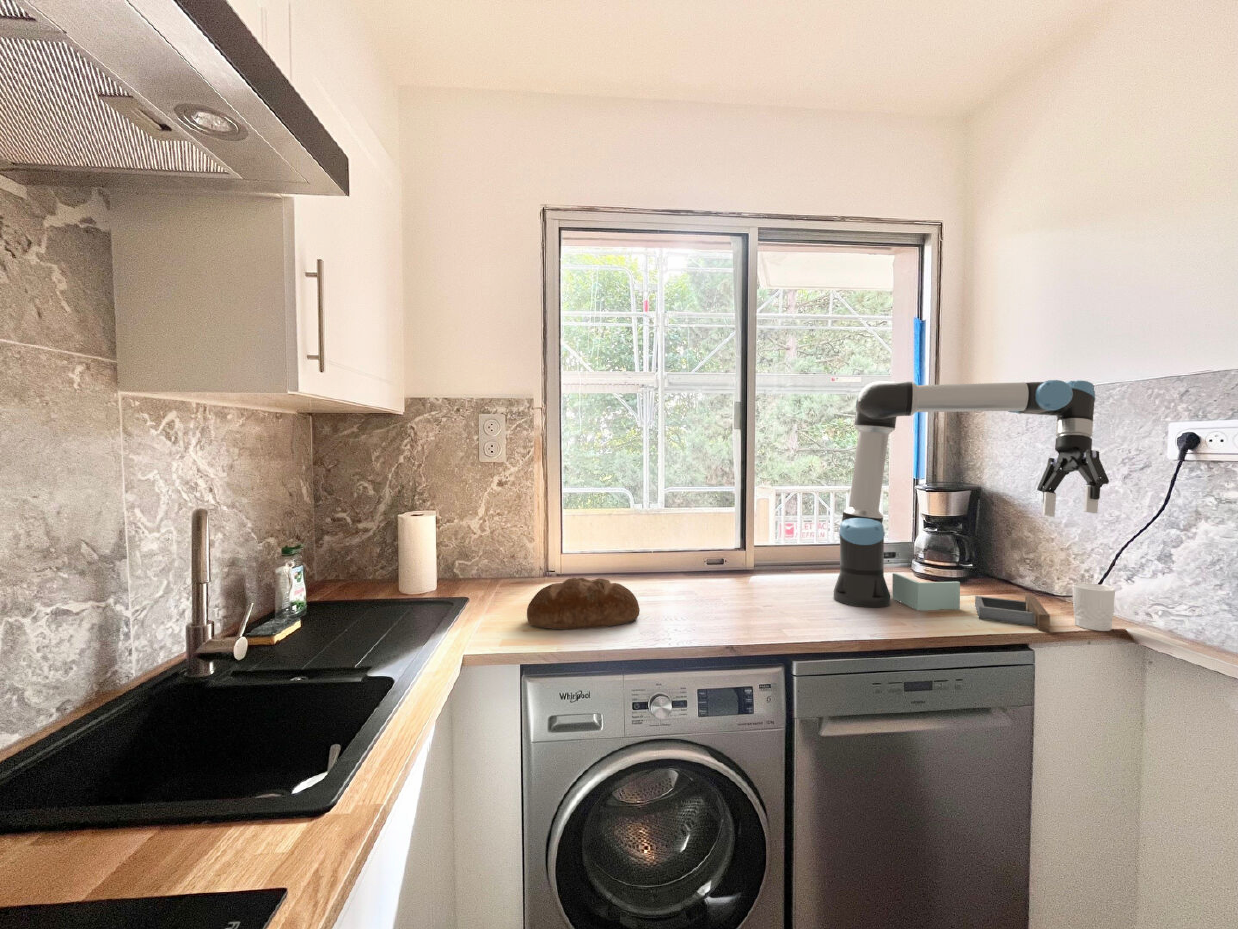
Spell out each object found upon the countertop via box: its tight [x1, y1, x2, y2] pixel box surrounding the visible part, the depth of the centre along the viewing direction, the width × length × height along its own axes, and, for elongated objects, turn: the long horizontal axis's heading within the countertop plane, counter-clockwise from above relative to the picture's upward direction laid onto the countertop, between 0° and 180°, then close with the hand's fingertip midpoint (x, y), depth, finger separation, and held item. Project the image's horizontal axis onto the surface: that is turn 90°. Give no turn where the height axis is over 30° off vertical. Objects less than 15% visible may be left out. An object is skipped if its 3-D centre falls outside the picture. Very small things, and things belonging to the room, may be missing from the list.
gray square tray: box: [974, 595, 1036, 627], centre depth 139 cm, size 12×12×3 cm
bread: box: [526, 577, 641, 630], centre depth 137 cm, size 16×29×11 cm, turn 101°
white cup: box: [1071, 582, 1116, 632], centre depth 130 cm, size 8×8×10 cm
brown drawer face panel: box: [1024, 594, 1051, 633], centre depth 135 cm, size 2×20×4 cm, turn 150°
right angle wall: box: [891, 572, 961, 611], centre depth 151 cm, size 12×12×8 cm
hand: (1068, 514), depth 140 cm, fingers open, 13 cm apart
